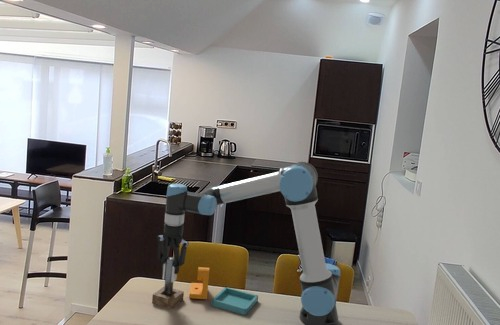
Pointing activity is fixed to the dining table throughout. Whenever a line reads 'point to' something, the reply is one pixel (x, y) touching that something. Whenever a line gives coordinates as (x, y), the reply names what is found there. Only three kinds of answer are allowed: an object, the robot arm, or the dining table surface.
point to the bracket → (200, 284)
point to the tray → (235, 300)
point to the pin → (169, 276)
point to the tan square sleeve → (167, 298)
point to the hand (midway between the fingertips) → (169, 279)
